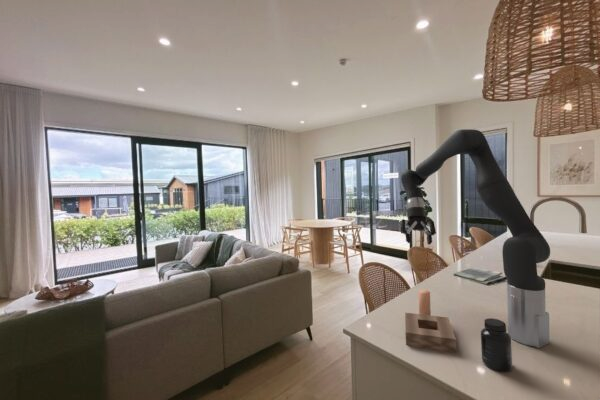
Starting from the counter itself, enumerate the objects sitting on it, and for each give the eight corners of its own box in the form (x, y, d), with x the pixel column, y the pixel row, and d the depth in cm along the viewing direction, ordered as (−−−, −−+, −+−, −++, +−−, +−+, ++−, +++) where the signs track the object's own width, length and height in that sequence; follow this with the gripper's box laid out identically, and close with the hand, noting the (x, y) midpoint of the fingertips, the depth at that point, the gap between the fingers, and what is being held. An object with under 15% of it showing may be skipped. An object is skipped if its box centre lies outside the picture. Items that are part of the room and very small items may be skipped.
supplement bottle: (498, 355, 77) (497, 315, 76) (518, 372, 70) (518, 327, 70) (475, 357, 77) (474, 317, 76) (493, 373, 70) (492, 329, 69)
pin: (433, 318, 100) (432, 292, 100) (425, 321, 98) (424, 294, 98) (424, 314, 104) (423, 289, 103) (416, 316, 102) (416, 291, 102)
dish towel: (452, 276, 145) (452, 270, 145) (472, 270, 153) (472, 265, 153) (488, 286, 128) (488, 280, 128) (509, 280, 136) (509, 273, 136)
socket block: (448, 328, 92) (448, 317, 92) (456, 352, 79) (455, 339, 79) (405, 323, 98) (405, 312, 97) (406, 344, 84) (405, 332, 84)
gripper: (402, 205, 119) (405, 240, 112) (435, 206, 117) (440, 242, 111) (397, 211, 126) (400, 244, 119) (428, 213, 124) (432, 246, 118)
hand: (419, 243), depth 115 cm, fingers open, 8 cm apart
